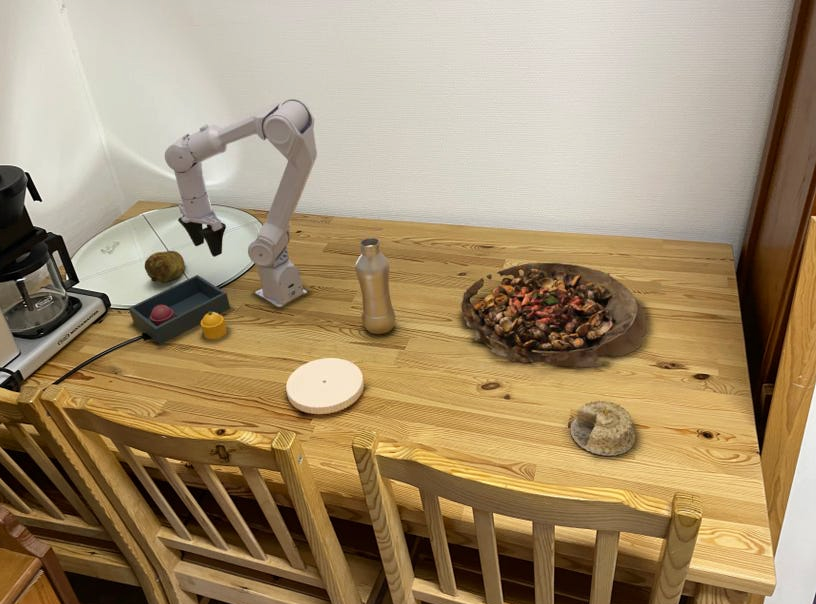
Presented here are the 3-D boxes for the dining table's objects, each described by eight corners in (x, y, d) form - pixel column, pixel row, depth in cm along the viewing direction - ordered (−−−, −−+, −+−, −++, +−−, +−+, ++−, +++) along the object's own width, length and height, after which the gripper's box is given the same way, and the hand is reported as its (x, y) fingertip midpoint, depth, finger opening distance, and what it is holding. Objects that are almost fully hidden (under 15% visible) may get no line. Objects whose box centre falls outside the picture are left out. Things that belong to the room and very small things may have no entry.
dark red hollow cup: (180, 324, 156) (175, 305, 153) (160, 335, 154) (154, 315, 151) (169, 316, 159) (163, 297, 157) (149, 326, 157) (143, 307, 154)
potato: (200, 267, 178) (192, 238, 173) (167, 294, 169) (158, 265, 164) (173, 262, 181) (165, 234, 177) (140, 289, 172) (130, 260, 168)
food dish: (440, 357, 139) (436, 323, 134) (488, 272, 163) (486, 241, 159) (635, 386, 124) (638, 349, 120) (656, 288, 148) (659, 254, 144)
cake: (616, 410, 121) (622, 385, 118) (646, 452, 112) (653, 426, 109) (559, 418, 120) (564, 393, 117) (585, 461, 111) (590, 435, 108)
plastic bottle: (394, 338, 144) (384, 250, 133) (360, 338, 145) (348, 250, 134) (398, 320, 149) (390, 233, 138) (366, 319, 150) (355, 234, 139)
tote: (230, 310, 160) (226, 292, 157) (161, 347, 151) (155, 329, 148) (201, 291, 168) (197, 274, 165) (134, 325, 159) (128, 307, 157)
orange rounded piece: (231, 333, 152) (225, 311, 149) (212, 344, 150) (205, 321, 146) (219, 325, 155) (213, 303, 152) (200, 335, 153) (193, 313, 150)
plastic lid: (340, 426, 124) (338, 415, 123) (273, 406, 131) (271, 396, 129) (377, 378, 134) (376, 367, 133) (313, 361, 141) (311, 351, 139)
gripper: (161, 192, 158) (176, 246, 165) (195, 209, 148) (210, 266, 156) (189, 180, 161) (203, 234, 169) (224, 197, 152) (237, 253, 159)
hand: (208, 249), depth 162 cm, fingers open, 7 cm apart
